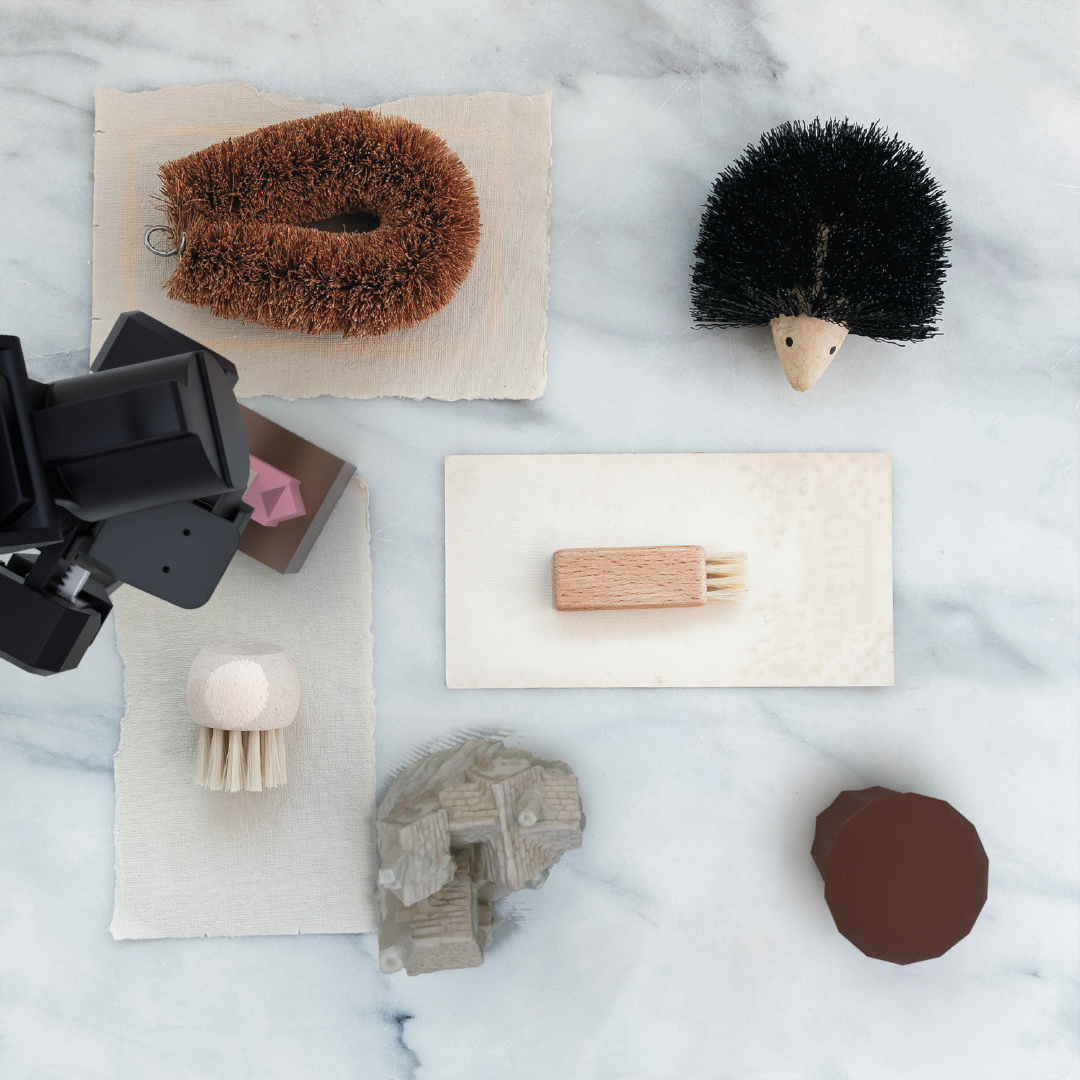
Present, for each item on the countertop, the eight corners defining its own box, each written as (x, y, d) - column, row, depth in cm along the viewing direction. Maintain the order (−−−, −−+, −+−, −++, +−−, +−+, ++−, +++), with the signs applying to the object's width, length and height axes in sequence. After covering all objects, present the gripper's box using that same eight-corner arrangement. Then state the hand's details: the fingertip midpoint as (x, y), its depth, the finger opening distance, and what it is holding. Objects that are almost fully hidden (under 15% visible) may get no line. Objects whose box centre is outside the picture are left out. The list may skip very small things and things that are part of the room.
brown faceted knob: (839, 741, 64) (896, 776, 54) (967, 808, 64) (1049, 856, 54) (767, 880, 64) (811, 942, 54) (896, 948, 64) (964, 1022, 54)
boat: (200, 485, 59) (173, 480, 54) (226, 440, 59) (200, 431, 54) (294, 536, 59) (274, 535, 54) (319, 491, 59) (301, 486, 54)
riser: (197, 515, 64) (169, 512, 59) (255, 411, 64) (232, 399, 59) (302, 572, 64) (282, 574, 59) (360, 468, 64) (345, 461, 59)
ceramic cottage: (365, 946, 63) (331, 1060, 48) (384, 725, 64) (358, 770, 49) (571, 956, 64) (601, 1070, 49) (587, 739, 65) (622, 786, 50)
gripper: (73, 760, 36) (205, 698, 52) (284, 382, 37) (352, 433, 52) (-158, 637, 36) (45, 611, 52) (58, 259, 37) (194, 347, 52)
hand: (164, 502), depth 52 cm, fingers open, 9 cm apart
